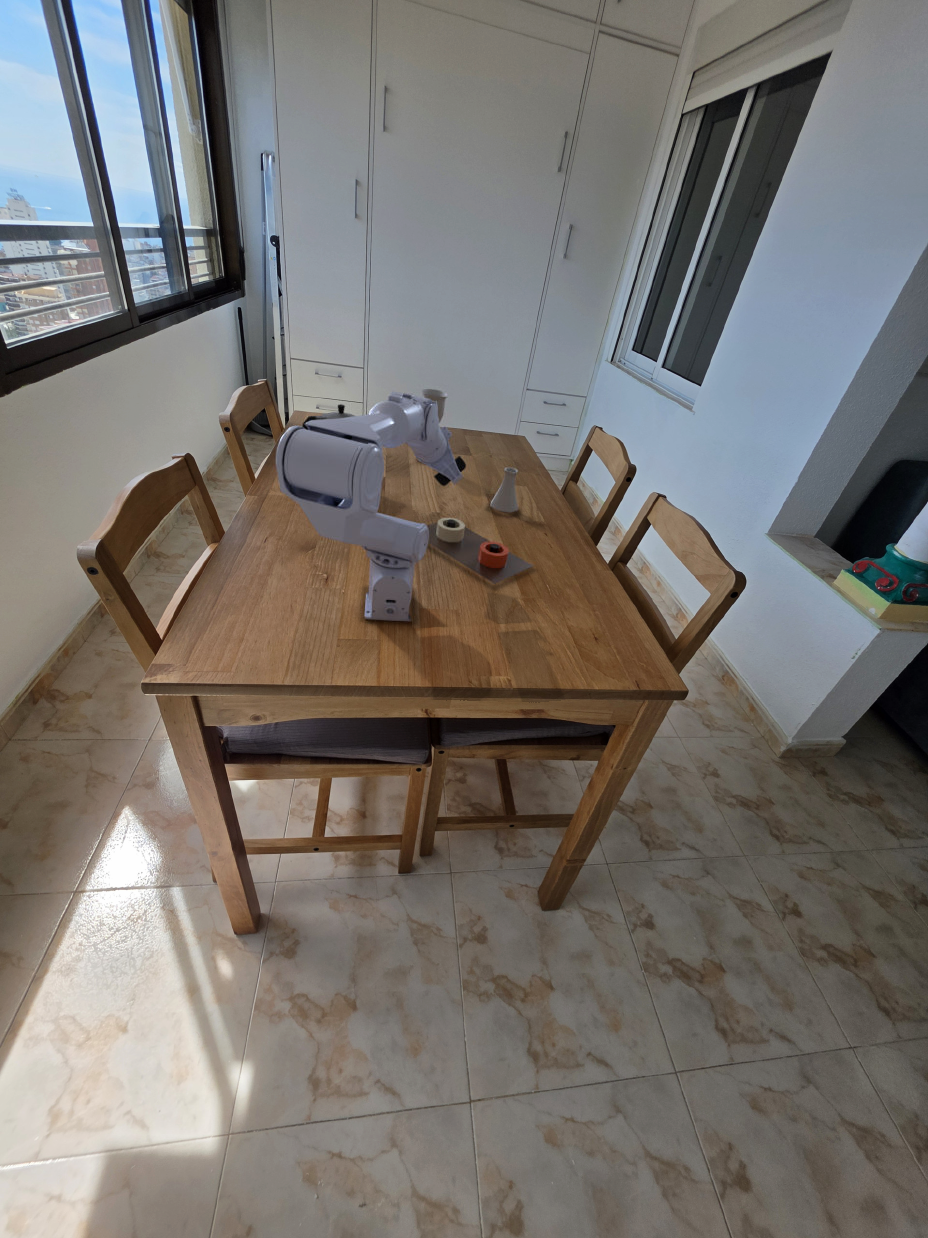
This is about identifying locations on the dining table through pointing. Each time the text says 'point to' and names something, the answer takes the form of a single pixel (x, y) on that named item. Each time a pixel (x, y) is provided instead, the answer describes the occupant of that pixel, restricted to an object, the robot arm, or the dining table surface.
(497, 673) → the dining table surface
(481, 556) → the red ring
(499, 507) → the flask
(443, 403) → the chalice
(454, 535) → the cream ring
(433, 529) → the ring board
